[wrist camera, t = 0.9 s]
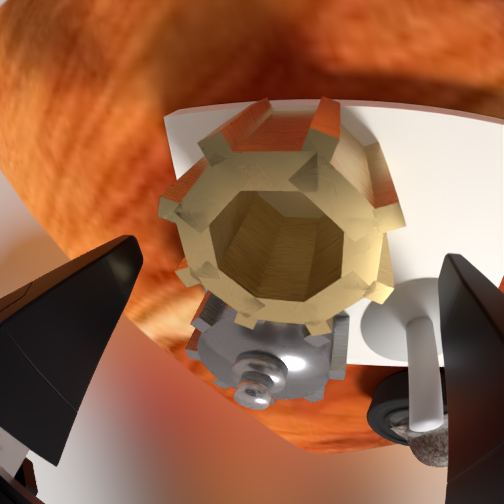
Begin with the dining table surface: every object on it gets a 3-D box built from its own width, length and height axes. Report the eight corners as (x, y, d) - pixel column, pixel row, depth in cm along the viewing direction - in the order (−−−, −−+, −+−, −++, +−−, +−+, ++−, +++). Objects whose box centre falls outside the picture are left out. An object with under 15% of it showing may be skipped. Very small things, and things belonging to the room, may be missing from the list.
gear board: (525, 124, 9) (629, 206, 3) (454, 349, 18) (465, 449, 12) (179, 109, 13) (64, 174, 8) (228, 332, 22) (190, 425, 16)
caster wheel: (363, 366, 25) (463, 322, 18) (428, 425, 25) (515, 398, 18) (335, 432, 20) (453, 406, 13) (410, 483, 20) (508, 466, 13)
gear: (356, 262, 14) (352, 362, 10) (342, 363, 19) (331, 442, 14) (194, 252, 16) (143, 332, 12) (221, 348, 21) (193, 418, 17)
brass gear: (386, 98, 10) (416, 132, 6) (376, 252, 14) (380, 341, 10) (208, 102, 11) (137, 139, 8) (231, 243, 15) (191, 320, 12)
